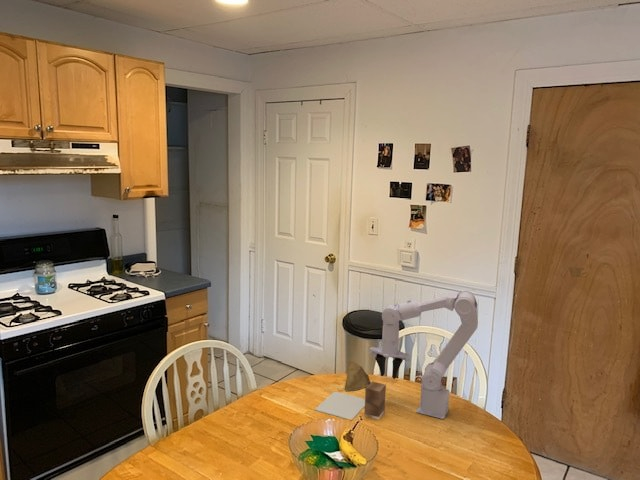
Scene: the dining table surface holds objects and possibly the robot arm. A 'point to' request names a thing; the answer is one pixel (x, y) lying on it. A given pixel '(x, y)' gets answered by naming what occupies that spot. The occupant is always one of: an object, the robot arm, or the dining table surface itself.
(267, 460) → the dining table surface
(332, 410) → the board
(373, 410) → the walnut block
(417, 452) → the dining table surface
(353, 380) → the rock
